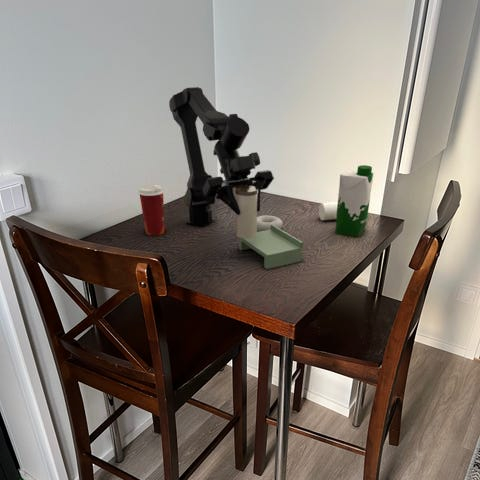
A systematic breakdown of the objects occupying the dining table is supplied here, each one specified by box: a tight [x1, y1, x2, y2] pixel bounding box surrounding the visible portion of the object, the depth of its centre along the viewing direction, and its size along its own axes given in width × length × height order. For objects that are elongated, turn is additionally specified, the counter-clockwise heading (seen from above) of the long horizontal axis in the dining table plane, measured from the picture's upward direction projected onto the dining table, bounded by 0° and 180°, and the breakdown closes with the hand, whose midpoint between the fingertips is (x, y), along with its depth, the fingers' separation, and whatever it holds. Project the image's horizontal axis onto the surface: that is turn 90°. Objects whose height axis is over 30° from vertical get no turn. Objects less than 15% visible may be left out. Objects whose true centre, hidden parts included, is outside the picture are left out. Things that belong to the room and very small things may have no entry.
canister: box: [234, 186, 258, 239], centre depth 128 cm, size 6×6×12 cm
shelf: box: [238, 224, 304, 270], centre depth 135 cm, size 16×11×6 cm
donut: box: [257, 215, 283, 232], centre depth 153 cm, size 10×4×10 cm
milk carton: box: [335, 164, 375, 238], centre depth 146 cm, size 9×9×20 cm
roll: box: [318, 201, 338, 221], centre depth 160 cm, size 6×12×6 cm, turn 100°
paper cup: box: [137, 184, 165, 236], centre depth 148 cm, size 8×8×14 cm
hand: (248, 212), depth 126 cm, fingers closed on canister, 5 cm apart
